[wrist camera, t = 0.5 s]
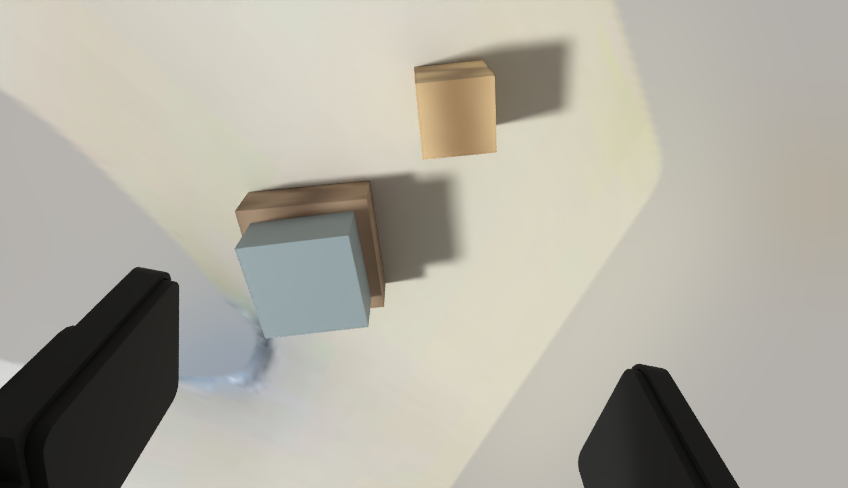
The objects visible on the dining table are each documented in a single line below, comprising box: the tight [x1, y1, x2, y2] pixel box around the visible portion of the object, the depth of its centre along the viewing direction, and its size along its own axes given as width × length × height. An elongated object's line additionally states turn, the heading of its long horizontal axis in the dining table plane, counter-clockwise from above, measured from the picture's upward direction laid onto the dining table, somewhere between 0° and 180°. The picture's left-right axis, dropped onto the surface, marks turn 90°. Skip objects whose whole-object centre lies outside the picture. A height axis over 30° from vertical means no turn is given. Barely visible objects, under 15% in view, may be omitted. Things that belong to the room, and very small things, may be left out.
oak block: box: [414, 60, 497, 159], centre depth 35 cm, size 5×5×6 cm
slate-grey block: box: [235, 211, 371, 338], centre depth 39 cm, size 8×8×4 cm
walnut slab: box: [235, 181, 385, 308], centre depth 42 cm, size 10×10×4 cm
